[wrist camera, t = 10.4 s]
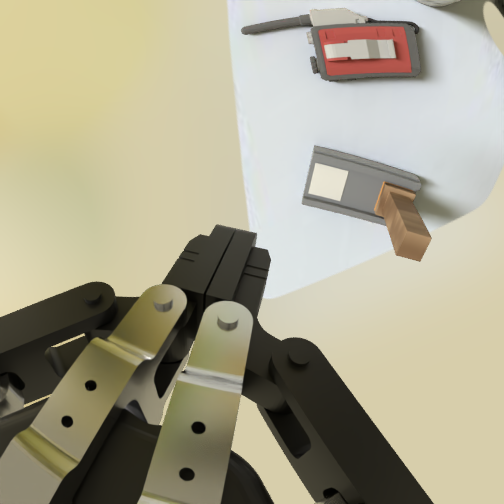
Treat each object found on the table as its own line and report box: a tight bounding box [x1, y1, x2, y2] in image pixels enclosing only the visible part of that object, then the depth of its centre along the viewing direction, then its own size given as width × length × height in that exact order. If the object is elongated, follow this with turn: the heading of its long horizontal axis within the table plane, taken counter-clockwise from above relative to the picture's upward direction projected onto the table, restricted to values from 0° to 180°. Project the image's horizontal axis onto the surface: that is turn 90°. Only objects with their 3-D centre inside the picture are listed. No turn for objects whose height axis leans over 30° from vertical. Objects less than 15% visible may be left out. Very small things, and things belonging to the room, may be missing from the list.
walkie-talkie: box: [241, 8, 421, 82], centre depth 25 cm, size 9×4×20 cm
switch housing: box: [302, 146, 421, 226], centre depth 35 cm, size 7×14×3 cm, turn 82°
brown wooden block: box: [375, 182, 431, 262], centre depth 29 cm, size 4×4×10 cm
